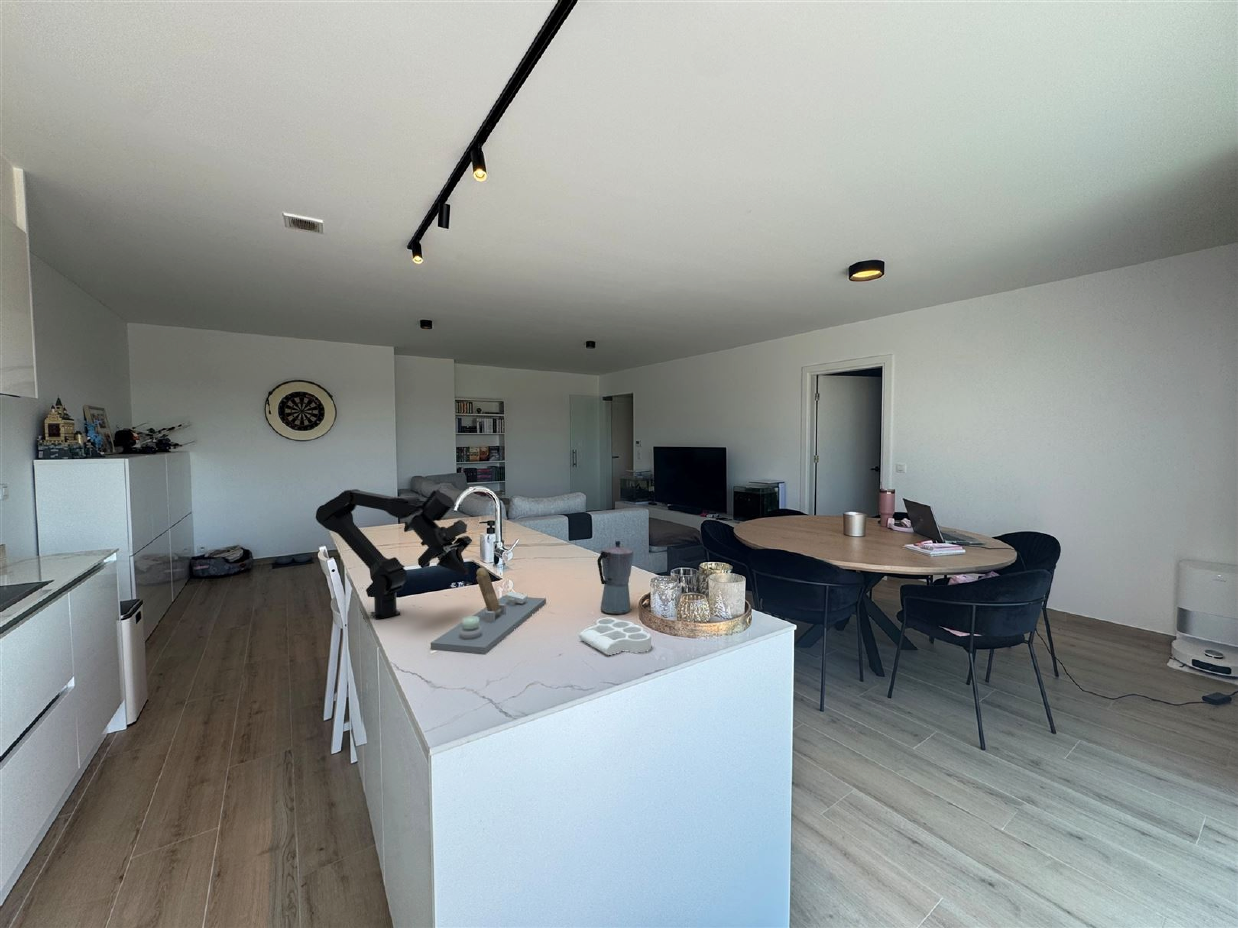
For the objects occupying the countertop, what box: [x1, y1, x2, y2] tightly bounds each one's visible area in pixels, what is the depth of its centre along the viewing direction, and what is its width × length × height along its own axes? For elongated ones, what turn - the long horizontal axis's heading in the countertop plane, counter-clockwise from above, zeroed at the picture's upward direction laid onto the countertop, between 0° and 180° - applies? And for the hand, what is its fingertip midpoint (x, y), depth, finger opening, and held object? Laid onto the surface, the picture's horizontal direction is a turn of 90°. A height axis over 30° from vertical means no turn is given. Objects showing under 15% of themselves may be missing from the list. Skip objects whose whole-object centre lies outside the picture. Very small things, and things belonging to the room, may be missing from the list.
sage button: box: [461, 615, 479, 629], centre depth 120 cm, size 4×4×2 cm
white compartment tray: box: [578, 616, 652, 656], centre depth 120 cm, size 3×18×15 cm
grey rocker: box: [504, 590, 529, 604], centre depth 146 cm, size 6×4×1 cm, turn 77°
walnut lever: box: [475, 567, 502, 617], centre depth 133 cm, size 3×4×14 cm, turn 167°
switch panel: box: [430, 592, 547, 655], centre depth 133 cm, size 14×38×4 cm, turn 167°
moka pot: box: [596, 540, 634, 615], centre depth 142 cm, size 10×15×20 cm, turn 148°
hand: (466, 573), depth 135 cm, fingers closed
